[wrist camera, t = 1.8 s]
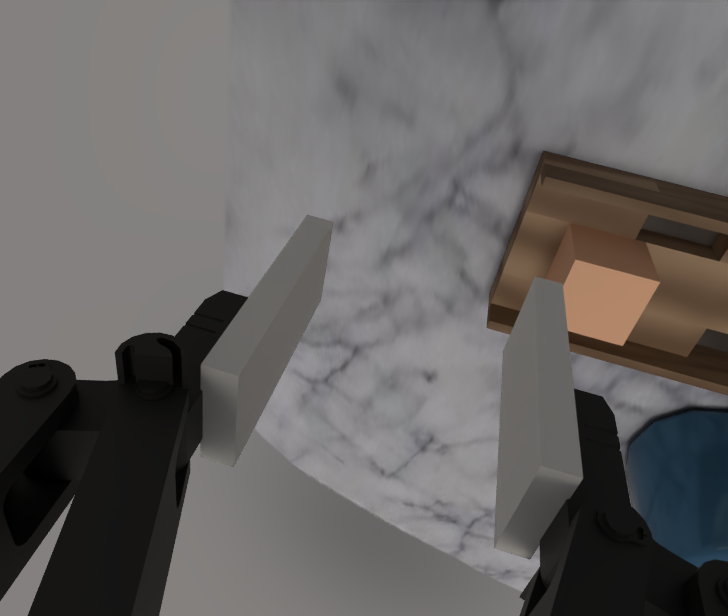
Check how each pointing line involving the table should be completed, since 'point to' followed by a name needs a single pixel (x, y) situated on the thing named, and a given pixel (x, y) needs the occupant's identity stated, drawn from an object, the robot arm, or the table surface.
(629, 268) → the block
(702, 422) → the wine bottle
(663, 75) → the table surface
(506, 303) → the trap box
